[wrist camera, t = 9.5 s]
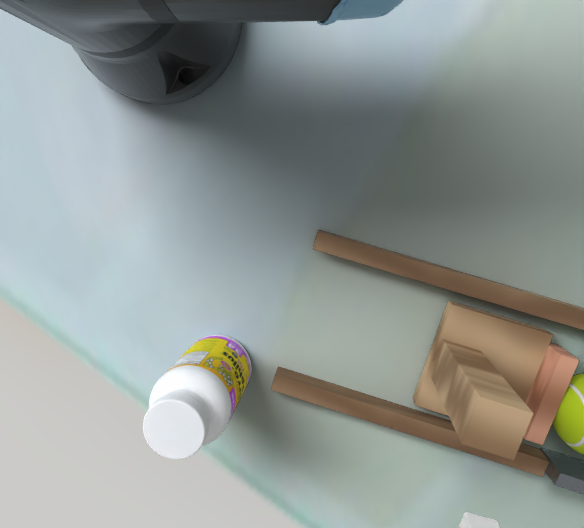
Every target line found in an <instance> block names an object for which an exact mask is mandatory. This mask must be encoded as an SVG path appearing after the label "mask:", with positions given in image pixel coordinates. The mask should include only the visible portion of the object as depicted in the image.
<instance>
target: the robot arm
mask: <svg viewBox="0 0 584 528" xmlns="http://www.w3.org/2000/svg"><path fill="white" fill-rule="evenodd" d="M402 1H403V0H0V9H2V10H4V11H6V12H8V13H10V14H12V15H14V16H16V17H18V18H20V19H22V20H23V21H25V22H27V23H29V24H31V25H33V26H35V27H37V28H39V29H41V30H43V31H45V32H47V33H49V34H51V35H53V36H55V37H57V38H59V39H61V40H63V41H65V42H67V43H69V44H71V45H72V47H73V48H74V50H75V51H76V52H77V54H78V55H79V57H80V58H81V60H82V61H83V63H84V64H85V65H86V67H87V68H88V69H89V70H90V71H91V72H92V73H93V74H94V75H95V76H96V77H97V78H98V79H99V80H100V81H101V82H103V83H104V84H105V85H107V86H108V87H110V88H111V89H113V90H115V91H117V92H119V93H121V94H123V95H125V96H128V97H130V98H133V99H135V100H138V101H141V102H145V103H151V104H170V103H176V102H180V101H184V100H187V99H189V98H191V97H194V96H195V95H197V94H199V93H201V92H202V91H204V90H205V89H207V88H208V87H209V86H210V85H211V84H213V83H214V82H215V81H216V80H217V79H218V77H219V76H220V75H221V74H222V73H223V71H224V70H225V69H226V67H227V65H228V64H229V62H230V60H231V58H232V56H233V54H234V52H235V49H236V47H237V44H238V40H239V37H240V32H241V25H242V22H288V21H317V22H318V24H320V25H328V24H331V23H334V22H336V21H337V20H350V19H364V18H376V17H380V16H383V15H385V14H387V13H389V12H390V11H391V10H393V9H394V8H395V7H397V6H398V5H399V4H400V3H401V2H402ZM459 528H500V527H499V525H498V523H497V520H493V519H490V518H486V517H482V516H479V515H475V514H472V513H468V512H464V515H463V518H462V520H461V523H460V526H459Z"/></svg>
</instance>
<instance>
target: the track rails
mask: <svg viewBox="0 0 584 528" xmlns="http://www.w3.org/2000/svg"><path fill="white" fill-rule="evenodd" d="M313 249H314V250H318V251H321V252H324V253H328V254H331V255H334V256H338V257H341V258H344V259H348V260H351V261H354V262H358V263H361V264H364V265H368V266H371V267H374V268H378V269H381V270H384V271H388V272H391V273H394V274H398V275H401V276H404V277H408V278H411V279H415V280H418V281H421V282H425V283H428V284H431V285H435V286H438V287H441V288H445V289H448V290H451V291H455V292H458V293H461V294H465V295H468V296H471V297H475V298H478V299H481V300H485V301H488V302H491V303H495V304H498V305H501V306H505V307H508V308H511V309H515V310H518V311H521V312H525V313H528V314H531V315H535V316H538V317H541V318H545V319H548V320H551V321H555V322H558V323H561V324H565V325H568V326H571V327H575V328H578V329H582V330H584V308H581V307H578V306H575V305H571V304H568V303H564V302H561V301H558V300H554V299H551V298H548V297H544V296H541V295H537V294H534V293H531V292H527V291H524V290H521V289H517V288H514V287H511V286H507V285H504V284H500V283H497V282H494V281H490V280H487V279H484V278H480V277H477V276H473V275H470V274H467V273H463V272H460V271H457V270H453V269H450V268H446V267H443V266H440V265H436V264H433V263H430V262H426V261H423V260H419V259H416V258H413V257H409V256H406V255H403V254H399V253H396V252H392V251H389V250H386V249H382V248H379V247H376V246H372V245H369V244H366V243H362V242H359V241H355V240H352V239H349V238H345V237H342V236H339V235H335V234H332V233H328V232H325V231H322V230H318V232H317V235H316V239H315V242H314V245H313ZM271 390H273V391H276V392H279V393H282V394H285V395H289V396H292V397H295V398H298V399H301V400H304V401H307V402H310V403H314V404H317V405H320V406H323V407H326V408H329V409H332V410H335V411H339V412H342V413H345V414H348V415H351V416H354V417H357V418H360V419H364V420H367V421H370V422H373V423H376V424H379V425H382V426H385V427H389V428H392V429H395V430H398V431H401V432H404V433H407V434H411V435H414V436H417V437H420V438H423V439H426V440H429V441H432V442H436V443H439V444H442V445H445V446H448V447H451V448H454V449H457V450H461V451H464V452H467V453H470V454H473V455H476V456H479V457H482V458H486V459H489V460H492V461H495V462H498V463H501V464H504V465H507V466H511V467H514V468H517V469H520V470H523V471H526V472H529V473H532V474H536V475H539V476H542V477H543V475H544V472H545V470H546V468H547V466H548V463H549V461H548V459H547V458H546V457H545V455H544V454H543V453H542V451H541V450H540V449H538V448H534V447H531V446H528V445H525V444H522V443H521V444H520V447H519V449H518V451H517V454H516V456H515V458H514V460H511V459H508V458H505V457H502V456H498V455H495V454H492V453H489V452H486V451H483V450H480V449H476V448H473V447H470V446H467V445H464V444H461V441H460V439H459V437H458V435H457V433H456V431H455V428H454V426H453V424H452V422H451V421H449V420H446V419H443V418H440V417H436V416H433V415H430V414H427V413H424V412H421V411H418V410H414V409H411V408H408V407H405V406H402V405H399V404H395V403H392V402H389V401H386V400H383V399H380V398H376V397H373V396H370V395H367V394H364V393H361V392H357V391H354V390H351V389H348V388H345V387H342V386H339V385H335V384H332V383H329V382H326V381H323V380H320V379H316V378H313V377H310V376H307V375H304V374H301V373H297V372H294V371H291V370H288V369H285V368H282V367H278V368H277V371H276V374H275V377H274V380H273V384H272V387H271Z"/></svg>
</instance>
